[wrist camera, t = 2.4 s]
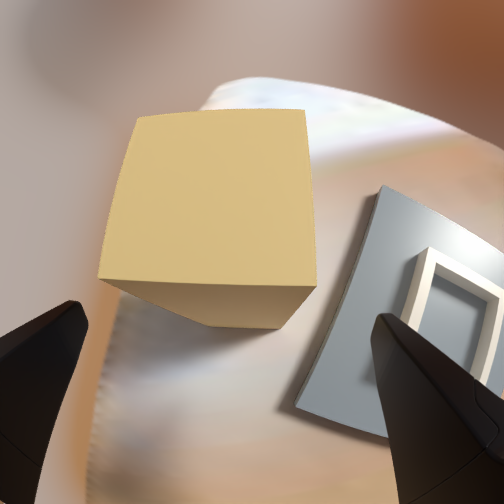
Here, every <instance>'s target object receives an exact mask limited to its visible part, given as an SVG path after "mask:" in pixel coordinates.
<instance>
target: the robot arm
mask: <svg viewBox="0 0 504 504" xmlns="http://www.w3.org/2000/svg"><path fill="white" fill-rule="evenodd" d="M87 330H88V320H87V317H86V315H85V312H84V310H83V307H82V305H81V303H80V302H78V301H72V300H69V301H66V302H64V303H63V304H61V305H59V306H57V307H55V308H53V309H51V310H50V311H48V312H46V313H44V314H42V315H40V316H38V317H37V318H35V319H33V320H31V321H29V322H27V323H25V324H24V325H22V326H20V327H18V328H16V329H15V330H13V331H11V332H9V333H7V334H6V335H4V336H2V337H0V504H3V503H5V504H34V502H35V497H36V492H37V487H38V483H39V479H40V474H41V470H42V466H43V461H44V458H45V454H46V451H47V447H48V444H49V441H50V437H51V434H52V431H53V428H54V425H55V421H56V419H57V415H58V413H59V410H60V407H61V404H62V401H63V398H64V396H65V393H66V391H67V388H68V385H69V383H70V380H71V378H72V375H73V373H74V370H75V367H76V364H77V361H78V358H79V355H80V351H81V348H82V345H83V342H84V339H85V336H86V333H87ZM370 343H371V349H372V356H373V363H374V370H375V378H376V384H377V390H378V394H379V398H380V402H381V407H382V411H383V415H384V420H385V425H386V429H387V434H388V439H389V444H390V449H391V455H392V460H393V466H394V472H395V478H396V484H397V491H398V498H399V504H504V400H503V399H501V398H500V397H499V396H497V395H496V394H495V393H493V392H492V391H491V390H489V389H488V388H487V387H486V386H484V385H483V384H482V383H481V382H480V381H478V380H477V379H474V377H473V376H472V375H471V374H470V373H468V372H467V371H466V370H465V369H463V368H462V367H461V366H460V365H458V364H457V363H456V362H455V361H453V360H452V359H451V358H450V357H448V356H447V355H446V354H445V353H443V352H442V351H441V350H439V349H438V348H437V347H436V346H434V345H433V344H432V343H430V342H429V341H428V340H427V339H425V338H424V337H423V336H421V335H420V334H419V333H417V332H416V331H415V330H414V329H412V328H411V327H410V326H408V325H407V324H406V323H404V322H403V321H402V320H400V319H399V318H398V317H396V316H395V315H394V314H392V313H380V314H378V315H377V317H376V320H375V323H374V326H373V329H372V332H371V337H370Z"/></svg>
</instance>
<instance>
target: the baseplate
mask: <svg viewBox="0 0 504 504" xmlns="http://www.w3.org/2000/svg"><path fill="white" fill-rule="evenodd" d="M380 313H392V314H394V315H395V316H396V317H398V318H399V319H400V320H402V321H403V322H404V323H406V324H407V325H408V326H410V327H411V328H412V329H414V330H415V331H416V332H417V333H419V334H420V335H421V336H423V337H424V338H425V339H427V340H428V341H429V342H430V343H432V344H433V345H434V346H436V347H437V348H438V349H439V350H441V351H442V352H443V353H445V354H446V355H447V356H448V357H450V358H451V359H452V360H453V361H455V362H456V363H457V364H458V365H460V366H461V367H462V368H463V369H465V370H466V371H467V372H468V373H470V374H471V375H472V376H473V377H474V379H477V380H478V381H480V382H481V383H482V384H483V385H484V386H486V387H487V388H488V389H489V390H491V391H492V392H493V393H495V394H496V395H497V396H499V397H500V398H501V395H502V392H503V389H504V254H503V253H502V252H500V251H499V250H497V249H496V248H494V247H493V246H491V245H490V244H488V243H487V242H485V241H484V240H482V239H480V238H479V237H477V236H476V235H474V234H473V233H471V232H469V231H468V230H466V229H464V228H463V227H461V226H459V225H458V224H456V223H454V222H453V221H451V220H449V219H447V218H446V217H444V216H442V215H440V214H439V213H437V212H435V211H433V210H431V209H430V208H428V207H426V206H424V205H422V204H420V203H418V202H417V201H415V200H413V199H411V198H409V197H407V196H405V195H403V194H401V193H399V192H397V191H395V190H393V189H391V188H389V187H387V186H385V185H382V187H381V188H380V190H379V192H378V194H377V197H376V200H375V204H374V207H373V210H372V214H371V217H370V220H369V223H368V226H367V229H366V232H365V235H364V238H363V241H362V244H361V247H360V250H359V253H358V256H357V259H356V261H355V264H354V267H353V270H352V272H351V275H350V278H349V280H348V283H347V286H346V288H345V291H344V293H343V296H342V298H341V301H340V303H339V306H338V308H337V311H336V313H335V316H334V318H333V320H332V323H331V325H330V327H329V330H328V332H327V334H326V337H325V339H324V341H323V343H322V346H321V348H320V350H319V352H318V354H317V357H316V359H315V361H314V363H313V365H312V367H311V369H310V371H309V374H308V376H307V378H306V380H305V382H304V384H303V386H302V388H301V390H300V392H299V394H298V396H297V398H296V400H295V402H294V405H295V407H297V408H300V409H302V410H305V411H308V412H310V413H313V414H315V415H318V416H321V417H324V418H326V419H329V420H332V421H335V422H338V423H341V424H344V425H347V426H350V427H353V428H356V429H359V430H363V431H366V432H369V433H373V434H376V435H380V436H383V437H387V438H388V434H387V429H386V425H385V420H384V415H383V411H382V407H381V402H380V398H379V394H378V390H377V384H376V378H375V370H374V363H373V356H372V349H371V343H370V337H371V332H372V329H373V326H374V323H375V320H376V317H377V315H378V314H380Z"/></svg>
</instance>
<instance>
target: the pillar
mask: <svg viewBox="0 0 504 504" xmlns="http://www.w3.org/2000/svg"><path fill="white" fill-rule="evenodd" d="M98 279H100V280H102V281H104V282H106V283H108V284H111V285H113V286H115V287H117V288H119V289H121V290H123V291H125V292H128V293H130V294H132V295H134V296H136V297H139V298H141V299H143V300H145V301H148V302H150V303H152V304H155V305H157V306H159V307H162V308H164V309H166V310H169V311H171V312H174V313H176V314H178V315H181V316H183V317H186V318H188V319H191V320H193V321H196V322H199V323H201V324H204V325H206V326H210V327H230V328H262V329H281V328H282V327H283V326H284V324H285V323H286V322H287V321H288V320H289V319H290V317H291V316H292V315H293V314H294V313H295V312H296V310H297V309H298V308H299V307H300V306H301V304H302V303H303V302H304V301H305V300H306V298H307V297H308V296H309V295H310V294H311V292H312V291H313V290H314V289H315V287H316V286H317V273H316V245H315V224H314V207H313V192H312V179H311V167H310V156H309V146H308V136H307V126H306V118H305V110H297V109H223V110H205V111H192V112H180V113H171V114H162V115H154V116H146V117H140V118H138V119H137V122H136V125H135V128H134V131H133V133H132V136H131V140H130V142H129V145H128V149H127V152H126V155H125V158H124V161H123V165H122V168H121V172H120V175H119V179H118V182H117V186H116V190H115V194H114V197H113V201H112V206H111V210H110V214H109V218H108V223H107V228H106V232H105V238H104V242H103V248H102V253H101V259H100V266H99V271H98Z"/></svg>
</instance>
